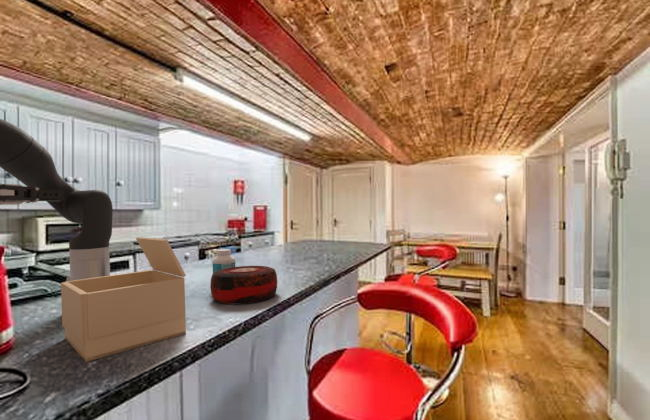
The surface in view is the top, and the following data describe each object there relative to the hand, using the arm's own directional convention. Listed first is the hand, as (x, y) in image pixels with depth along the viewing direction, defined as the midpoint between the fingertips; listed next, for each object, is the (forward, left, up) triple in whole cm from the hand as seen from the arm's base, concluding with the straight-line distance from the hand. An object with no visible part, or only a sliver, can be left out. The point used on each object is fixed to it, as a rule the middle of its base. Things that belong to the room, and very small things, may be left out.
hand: (63, 195), depth 67 cm
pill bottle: (+12, +51, -30) cm, 60 cm away
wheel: (+22, +41, -30) cm, 56 cm away
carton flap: (+11, +13, -14) cm, 22 cm away
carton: (+6, +8, -30) cm, 32 cm away
